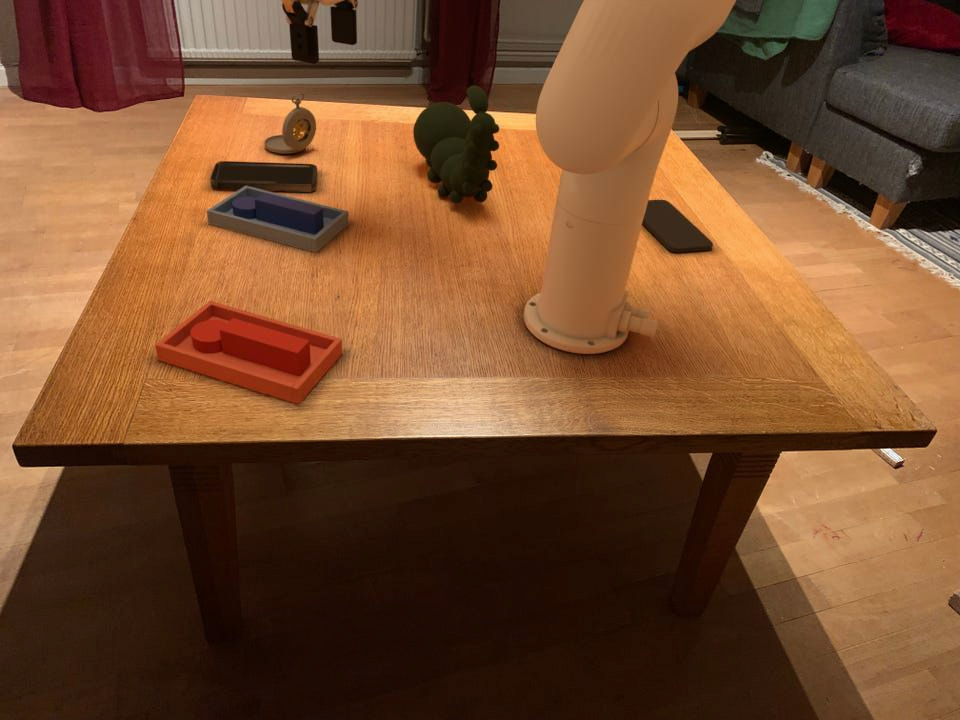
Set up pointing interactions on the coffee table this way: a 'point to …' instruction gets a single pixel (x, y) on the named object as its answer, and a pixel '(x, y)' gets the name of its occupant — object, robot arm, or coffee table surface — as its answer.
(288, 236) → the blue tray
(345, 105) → the coffee table surface
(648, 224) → the phone
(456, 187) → the toy figurine
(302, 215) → the blue spoon
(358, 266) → the coffee table surface
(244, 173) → the phone
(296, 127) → the pocket watch
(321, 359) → the red tray
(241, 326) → the red spoon
